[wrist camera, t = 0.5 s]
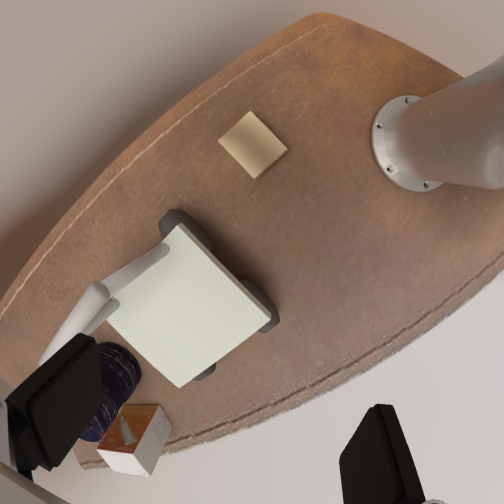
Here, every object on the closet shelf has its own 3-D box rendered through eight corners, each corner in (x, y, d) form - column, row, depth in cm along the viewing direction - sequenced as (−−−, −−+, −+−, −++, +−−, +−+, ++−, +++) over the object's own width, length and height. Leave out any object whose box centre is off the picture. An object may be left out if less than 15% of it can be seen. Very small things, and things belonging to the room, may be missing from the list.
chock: (253, 116, 36) (250, 110, 32) (287, 151, 37) (287, 148, 33) (224, 143, 37) (217, 141, 33) (257, 178, 38) (254, 178, 34)
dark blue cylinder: (100, 381, 50) (60, 431, 35) (88, 337, 47) (38, 384, 33) (146, 391, 49) (111, 450, 34) (136, 345, 46) (92, 402, 32)
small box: (160, 403, 49) (133, 454, 37) (173, 427, 50) (151, 477, 38) (124, 403, 50) (94, 449, 38) (138, 426, 52) (113, 472, 39)
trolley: (185, 199, 39) (78, 237, 17) (286, 303, 41) (283, 429, 20) (117, 277, 43) (13, 353, 21) (207, 364, 45) (159, 483, 24)
